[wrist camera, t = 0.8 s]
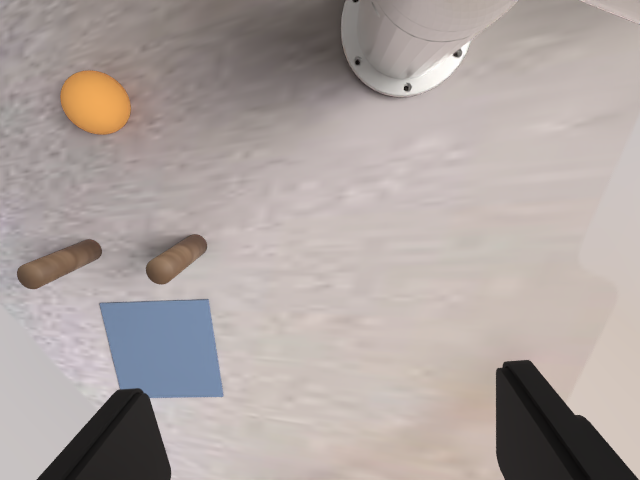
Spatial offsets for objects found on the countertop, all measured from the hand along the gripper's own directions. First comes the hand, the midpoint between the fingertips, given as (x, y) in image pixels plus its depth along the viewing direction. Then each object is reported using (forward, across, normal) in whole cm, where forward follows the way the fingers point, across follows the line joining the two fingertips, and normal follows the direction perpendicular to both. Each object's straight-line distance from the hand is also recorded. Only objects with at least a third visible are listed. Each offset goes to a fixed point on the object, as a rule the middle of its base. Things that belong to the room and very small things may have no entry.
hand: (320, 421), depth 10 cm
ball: (+30, +23, -13) cm, 40 cm away
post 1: (+32, +30, +2) cm, 45 cm away
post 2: (+32, +17, +3) cm, 37 cm away
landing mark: (+32, +25, +17) cm, 44 cm away
